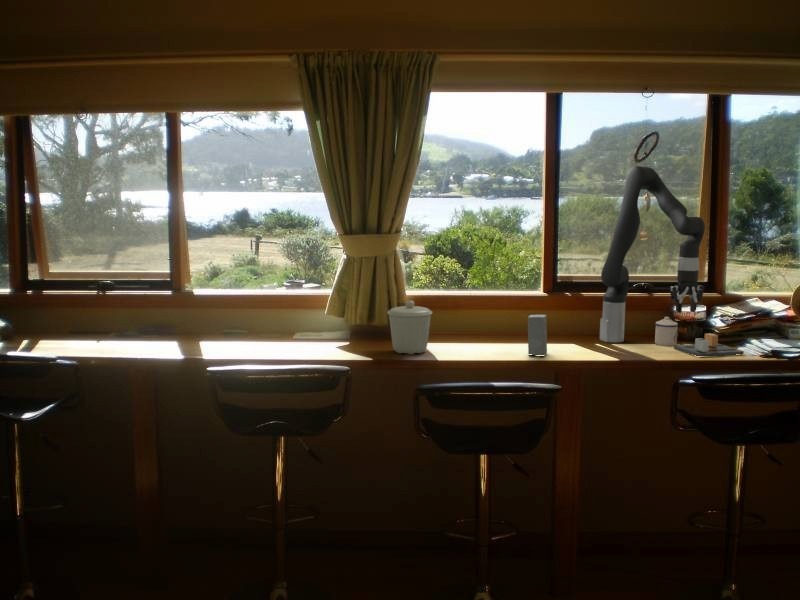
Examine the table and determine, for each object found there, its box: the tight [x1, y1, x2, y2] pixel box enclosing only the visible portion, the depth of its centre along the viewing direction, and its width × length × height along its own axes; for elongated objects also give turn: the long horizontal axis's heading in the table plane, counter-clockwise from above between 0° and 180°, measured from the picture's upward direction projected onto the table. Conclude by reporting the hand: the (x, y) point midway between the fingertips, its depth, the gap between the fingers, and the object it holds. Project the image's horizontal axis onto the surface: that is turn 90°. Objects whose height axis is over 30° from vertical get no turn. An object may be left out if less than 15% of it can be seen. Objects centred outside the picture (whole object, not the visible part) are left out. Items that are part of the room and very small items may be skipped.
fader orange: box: [704, 332, 719, 346], centre depth 286 cm, size 3×5×5 cm, turn 13°
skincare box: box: [527, 314, 548, 356], centre depth 276 cm, size 8×7×16 cm
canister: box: [386, 300, 433, 355], centre depth 281 cm, size 18×18×21 cm
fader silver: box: [694, 337, 709, 352], centre depth 276 cm, size 3×5×5 cm, turn 13°
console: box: [673, 343, 745, 357], centre depth 282 cm, size 20×17×2 cm
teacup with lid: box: [654, 316, 679, 347], centre depth 298 cm, size 12×9×12 cm
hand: (685, 312), depth 272 cm, fingers open, 5 cm apart
